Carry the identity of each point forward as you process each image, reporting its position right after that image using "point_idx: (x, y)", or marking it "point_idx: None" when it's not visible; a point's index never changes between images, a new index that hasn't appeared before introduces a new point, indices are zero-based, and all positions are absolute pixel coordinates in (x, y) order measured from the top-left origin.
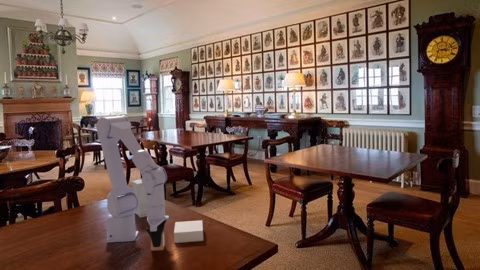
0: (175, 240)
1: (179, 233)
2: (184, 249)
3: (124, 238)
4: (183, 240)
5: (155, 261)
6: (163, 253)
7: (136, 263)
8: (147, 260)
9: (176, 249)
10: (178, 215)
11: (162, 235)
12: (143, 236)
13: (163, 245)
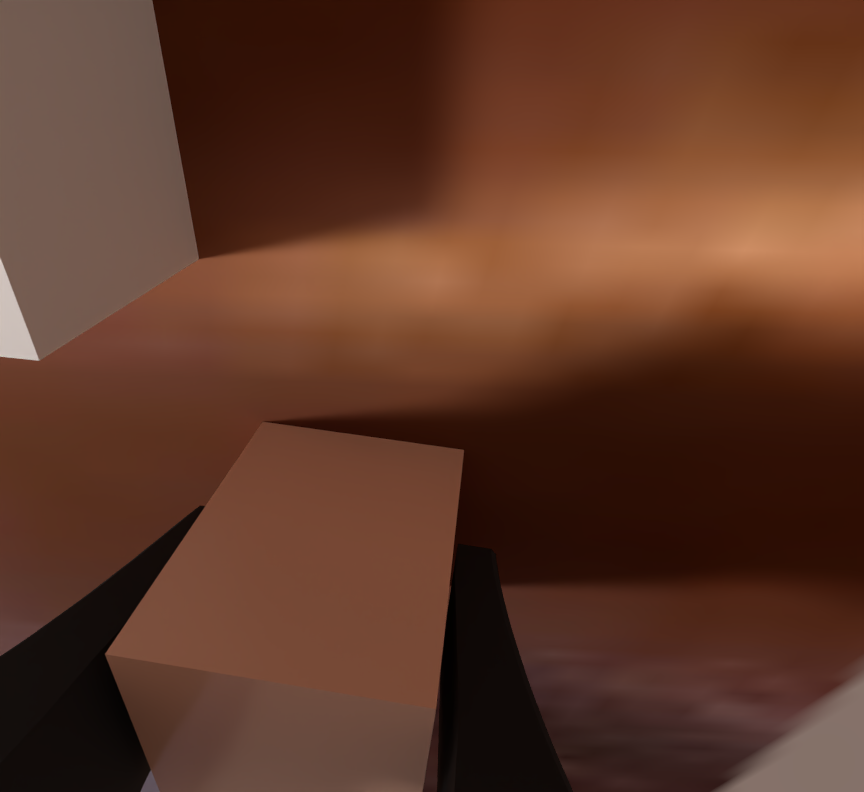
0: (168, 249)
1: (5, 171)
2: (592, 11)
3: (152, 788)
4: (132, 29)
5: (841, 561)
6: (609, 454)
7: (752, 716)
8: (740, 633)
9: (523, 224)
10: None
11: (426, 708)
12: (19, 628)
13: (418, 483)
